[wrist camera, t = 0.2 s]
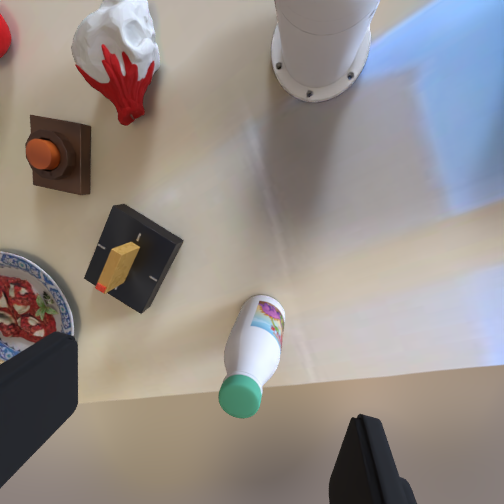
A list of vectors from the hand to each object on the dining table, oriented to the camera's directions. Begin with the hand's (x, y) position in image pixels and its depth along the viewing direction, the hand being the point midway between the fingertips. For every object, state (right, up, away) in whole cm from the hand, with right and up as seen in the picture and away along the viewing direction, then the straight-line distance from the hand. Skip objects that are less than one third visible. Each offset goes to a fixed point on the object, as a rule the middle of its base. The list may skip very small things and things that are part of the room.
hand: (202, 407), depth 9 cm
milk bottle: (+4, -6, +40) cm, 40 cm away
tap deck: (-19, +4, +41) cm, 45 cm away
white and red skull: (-16, +32, +33) cm, 48 cm away
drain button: (-30, +20, +35) cm, 50 cm away
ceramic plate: (-45, -7, +48) cm, 67 cm away
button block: (-30, +21, +38) cm, 53 cm away
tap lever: (-19, +3, +38) cm, 43 cm away
